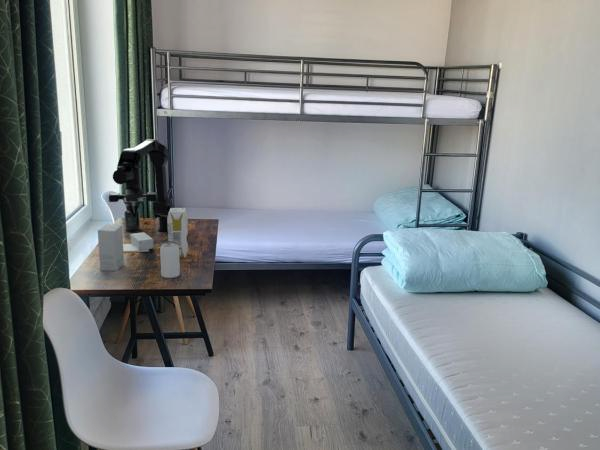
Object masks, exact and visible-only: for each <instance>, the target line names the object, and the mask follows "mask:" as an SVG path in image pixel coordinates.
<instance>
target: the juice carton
mask: <svg viewBox="0 0 600 450" xmlns="http://www.w3.org/2000/svg"><path fill="white" fill-rule="evenodd" d="M188 218H189V217H188V212H187V208H186V207H173V208H170V211H169V213H168V217H167V224H168V231H167V242H168V241H173V242H177V243H178V244H177V245H178V246H179V259H185V258H187V255H188V252H189V219H188Z"/></svg>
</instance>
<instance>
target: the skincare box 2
mask: <svg viewBox="0 0 600 450" xmlns="http://www.w3.org/2000/svg"><path fill="white" fill-rule="evenodd" d="M130 244H133V245H134V246H135V247H136V248H137V249H139V250H145V249H149V250H151V249H154V239H153V238H152V237H151V236H150V235H148V234H147V233H146V232H137V233H135V232H134V233H130Z"/></svg>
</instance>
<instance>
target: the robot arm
mask: <svg viewBox="0 0 600 450" xmlns="http://www.w3.org/2000/svg"><path fill="white" fill-rule="evenodd" d="M147 155H148V156H149V160H150V162H151V164H152V165H153V167H154V168H153V169H154V178H155V180H154V181H155V192H152V191H150V192H149V191H148V192H147V193H146V194H144V189H143V188H141V177H140V176H141V175H140V169H142V166H141V163H142V161H143V160H144V158H143V157H145V156H147ZM169 156H170V151H169V149H168V147H166V145H164V144H162V143H160V142H159V140H157V139H154V138H153V139H152V138H147V139H145V140H144V141H143V142H141V143H140V144H138V145H136V146H135V147H129V148H124V149H122V151H121V153H120V155H119V159H118V162H117V167H116V170H115V171H114V172H112V173H113V174H112V181H114V183H115V184H117V185H123V184H125V190H124V194H121V192H111V193H110V194H109V195H108V202H109V203H117V202H118V201H119V200H123V203H124V204H126V205H128V206H129V208H130V210H131V212H132V215H133V217H136V214H137V210H138V211H139V207H140V204H144V200H147V202H152V211H153V216H154V218H158V225H159V226H158V228H157V229H158V232H168V224H167V217H168V213H169V211H170V208H174V207H173V206H172V205H173V204H172V200H171V199H170V198H169V197H168V187H167V172H166V166H167V164H168V162H169ZM133 204H135V212H134V206H133Z"/></svg>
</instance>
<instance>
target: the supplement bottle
mask: <svg viewBox="0 0 600 450" xmlns="http://www.w3.org/2000/svg"><path fill="white" fill-rule="evenodd" d="M125 206H126V207H125V208H126V210H125V211H124V228H125V231H126V232H136V231H137V232H138V231H139V230H141V216H140V215H141V213H140V210H139V209H138V210H137V214H136V217H133V215H132V212H131V210H130V208H129V206H128V205H127V204H126V205H125ZM133 206H134V212H135V203H133Z"/></svg>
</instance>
